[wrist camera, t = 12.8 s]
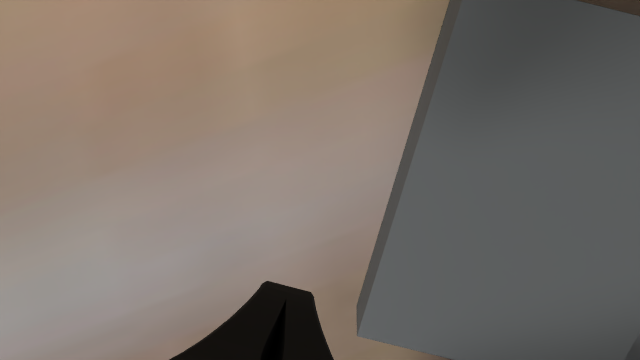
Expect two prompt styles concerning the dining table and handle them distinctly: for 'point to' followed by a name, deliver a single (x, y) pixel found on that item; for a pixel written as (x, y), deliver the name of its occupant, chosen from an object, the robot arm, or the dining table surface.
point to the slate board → (517, 191)
